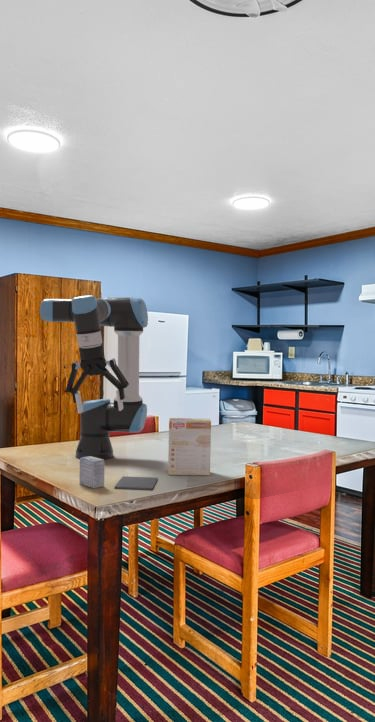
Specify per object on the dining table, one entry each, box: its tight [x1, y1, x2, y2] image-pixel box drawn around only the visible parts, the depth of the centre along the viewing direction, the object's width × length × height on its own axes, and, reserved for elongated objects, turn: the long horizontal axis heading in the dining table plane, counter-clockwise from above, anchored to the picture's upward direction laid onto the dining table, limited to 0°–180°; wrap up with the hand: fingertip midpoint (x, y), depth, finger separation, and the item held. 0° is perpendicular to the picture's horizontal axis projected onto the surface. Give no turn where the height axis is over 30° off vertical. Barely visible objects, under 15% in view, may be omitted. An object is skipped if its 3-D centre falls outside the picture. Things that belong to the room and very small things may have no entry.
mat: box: [114, 475, 159, 491], centre depth 172 cm, size 14×12×1 cm
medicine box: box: [79, 456, 105, 489], centre depth 169 cm, size 8×4×9 cm, turn 45°
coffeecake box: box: [167, 417, 212, 476], centre depth 189 cm, size 15×7×20 cm, turn 92°
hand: (100, 411), depth 168 cm, fingers open, 13 cm apart
